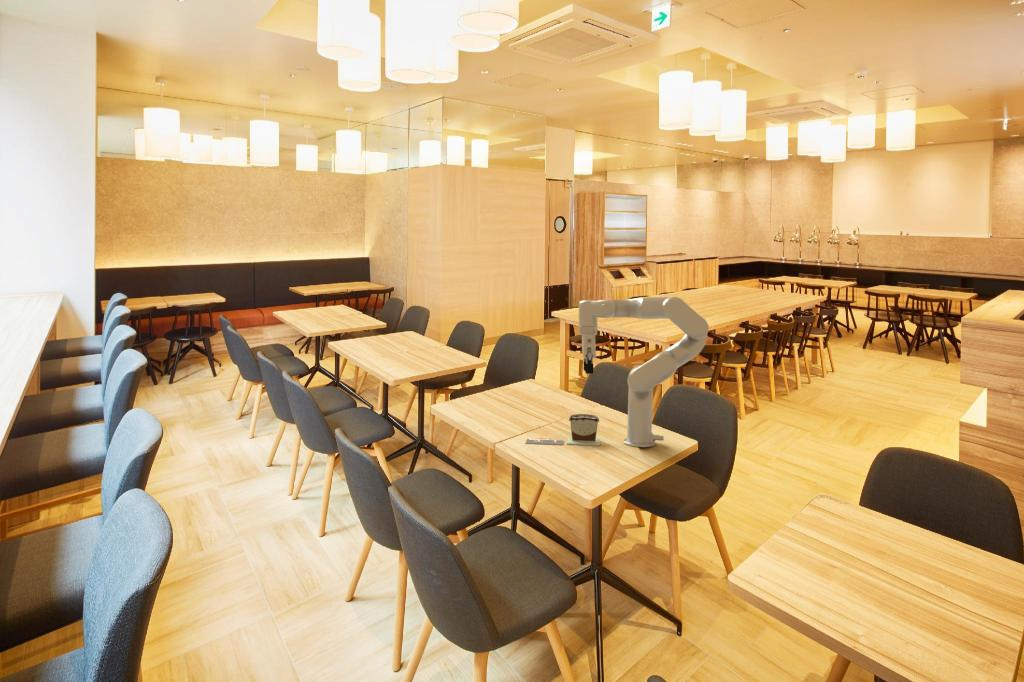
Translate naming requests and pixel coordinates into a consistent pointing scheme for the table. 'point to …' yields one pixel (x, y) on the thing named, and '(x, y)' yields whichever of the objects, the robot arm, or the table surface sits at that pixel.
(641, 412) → the robot arm
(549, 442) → the tile
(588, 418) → the food container
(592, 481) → the table surface
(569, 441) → the pad
